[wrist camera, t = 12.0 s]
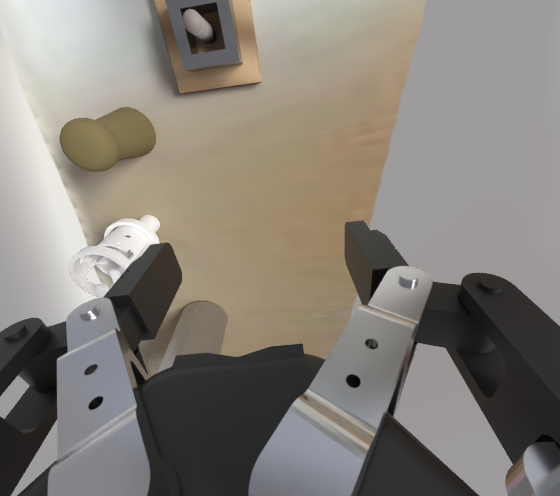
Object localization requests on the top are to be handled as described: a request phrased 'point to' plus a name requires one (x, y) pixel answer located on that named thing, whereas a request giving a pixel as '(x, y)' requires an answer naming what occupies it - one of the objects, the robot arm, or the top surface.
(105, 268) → the strainer
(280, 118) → the top surface
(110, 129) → the cork
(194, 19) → the toggle switch
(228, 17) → the grey hollow square block
